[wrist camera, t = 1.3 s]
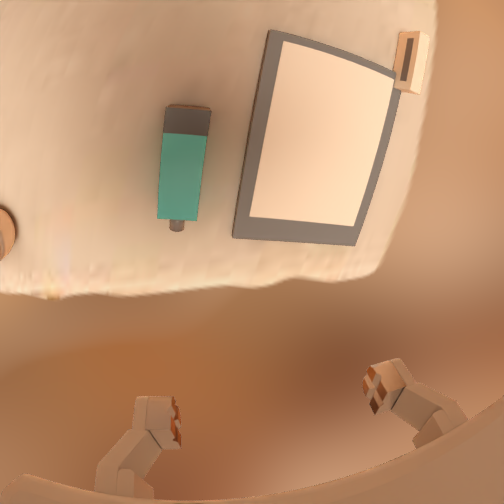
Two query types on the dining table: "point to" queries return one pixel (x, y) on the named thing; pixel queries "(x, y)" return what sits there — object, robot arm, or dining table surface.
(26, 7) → the dining table surface
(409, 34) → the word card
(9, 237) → the plastic bottle
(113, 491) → the robot arm
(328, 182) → the writing board
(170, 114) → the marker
